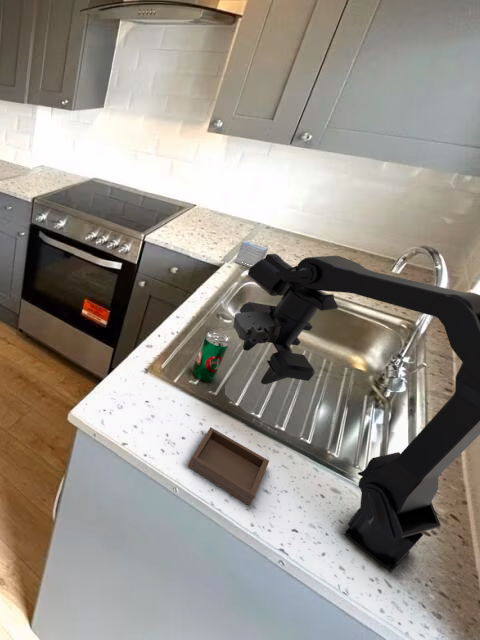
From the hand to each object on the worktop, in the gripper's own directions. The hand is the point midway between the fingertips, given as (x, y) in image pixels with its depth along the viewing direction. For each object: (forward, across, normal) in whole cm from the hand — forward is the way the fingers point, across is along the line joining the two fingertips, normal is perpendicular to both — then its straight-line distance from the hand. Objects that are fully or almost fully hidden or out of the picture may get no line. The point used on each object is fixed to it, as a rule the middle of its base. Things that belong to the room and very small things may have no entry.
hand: (254, 365), depth 91 cm
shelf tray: (+10, +18, -8) cm, 23 cm away
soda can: (+14, -8, -3) cm, 16 cm away
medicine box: (+22, -78, +40) cm, 90 cm away
